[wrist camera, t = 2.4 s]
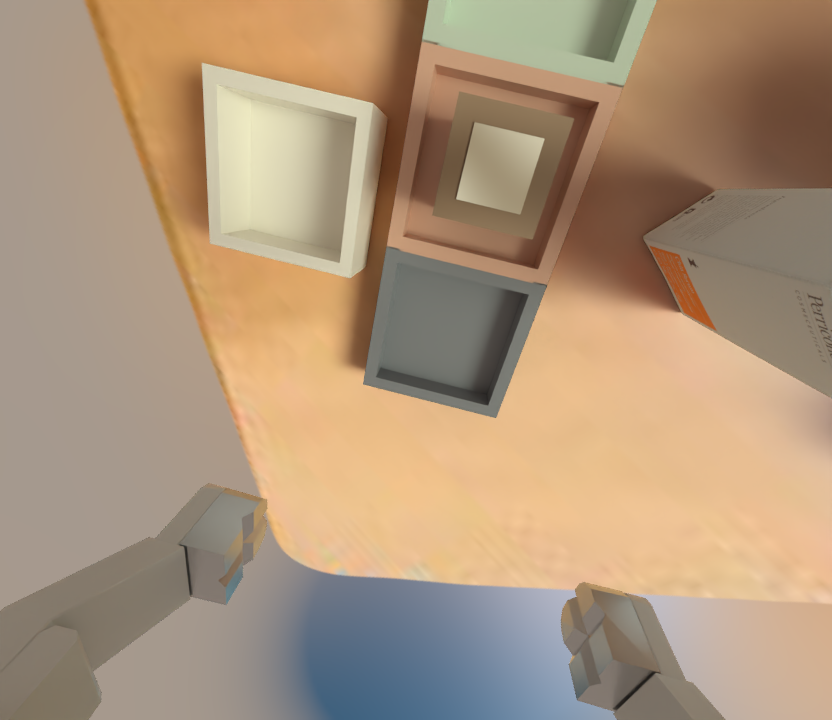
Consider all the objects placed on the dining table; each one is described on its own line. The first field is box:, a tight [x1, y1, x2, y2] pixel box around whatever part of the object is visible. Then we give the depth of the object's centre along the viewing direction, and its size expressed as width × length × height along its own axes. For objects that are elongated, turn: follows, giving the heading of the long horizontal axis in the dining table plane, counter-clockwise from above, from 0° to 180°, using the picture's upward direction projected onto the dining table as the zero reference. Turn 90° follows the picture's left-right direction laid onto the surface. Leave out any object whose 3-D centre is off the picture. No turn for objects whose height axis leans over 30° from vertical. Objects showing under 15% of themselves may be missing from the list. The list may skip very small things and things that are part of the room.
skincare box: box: [643, 188, 832, 398], centre depth 15 cm, size 6×4×12 cm
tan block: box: [432, 91, 575, 240], centre depth 17 cm, size 4×5×6 cm
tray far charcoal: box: [363, 247, 547, 418], centre depth 23 cm, size 10×10×2 cm
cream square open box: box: [202, 63, 388, 278], centre depth 20 cm, size 8×8×4 cm
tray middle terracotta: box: [387, 41, 624, 286], centre depth 19 cm, size 10×10×2 cm
